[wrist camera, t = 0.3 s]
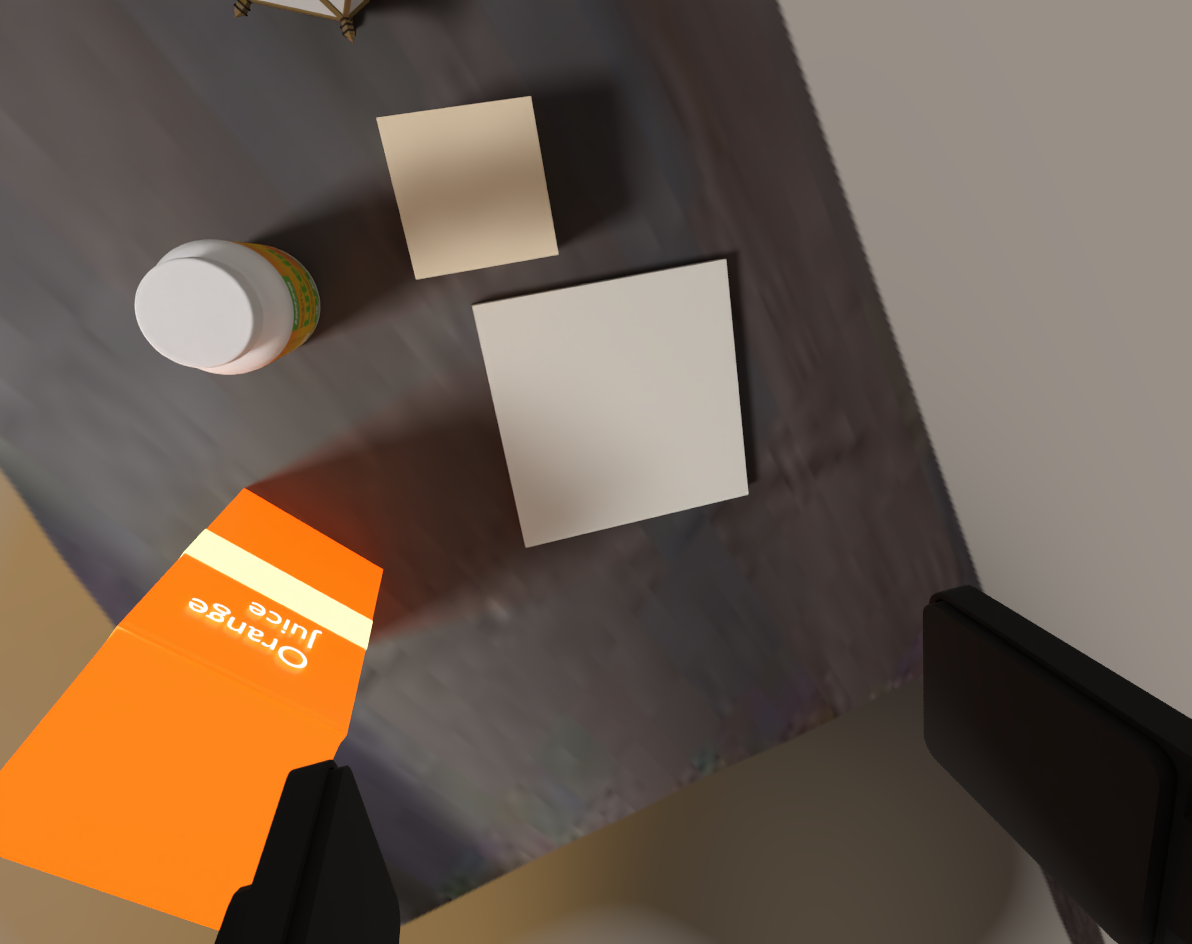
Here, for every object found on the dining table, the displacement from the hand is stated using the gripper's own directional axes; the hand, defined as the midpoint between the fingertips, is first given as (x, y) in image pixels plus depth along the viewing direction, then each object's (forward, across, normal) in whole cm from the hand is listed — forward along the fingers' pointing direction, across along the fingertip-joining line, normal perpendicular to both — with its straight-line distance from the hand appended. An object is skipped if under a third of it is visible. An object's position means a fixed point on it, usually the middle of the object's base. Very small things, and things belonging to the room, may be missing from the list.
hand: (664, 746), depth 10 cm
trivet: (+29, -6, +1) cm, 29 cm away
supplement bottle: (+29, +11, -8) cm, 32 cm away
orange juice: (+29, +15, +7) cm, 34 cm away
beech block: (+29, 0, -11) cm, 31 cm away
